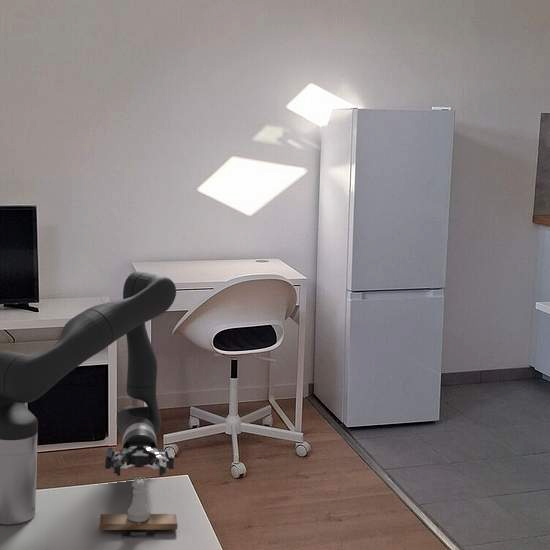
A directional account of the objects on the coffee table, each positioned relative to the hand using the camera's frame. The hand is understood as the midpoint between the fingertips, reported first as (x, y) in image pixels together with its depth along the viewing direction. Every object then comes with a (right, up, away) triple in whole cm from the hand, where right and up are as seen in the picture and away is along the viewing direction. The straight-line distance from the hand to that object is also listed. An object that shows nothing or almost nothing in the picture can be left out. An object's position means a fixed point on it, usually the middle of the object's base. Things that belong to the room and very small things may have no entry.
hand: (140, 471), depth 170 cm
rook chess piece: (0, -9, -4) cm, 10 cm away
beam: (0, -9, -4) cm, 10 cm away
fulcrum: (0, -11, -4) cm, 11 cm away
